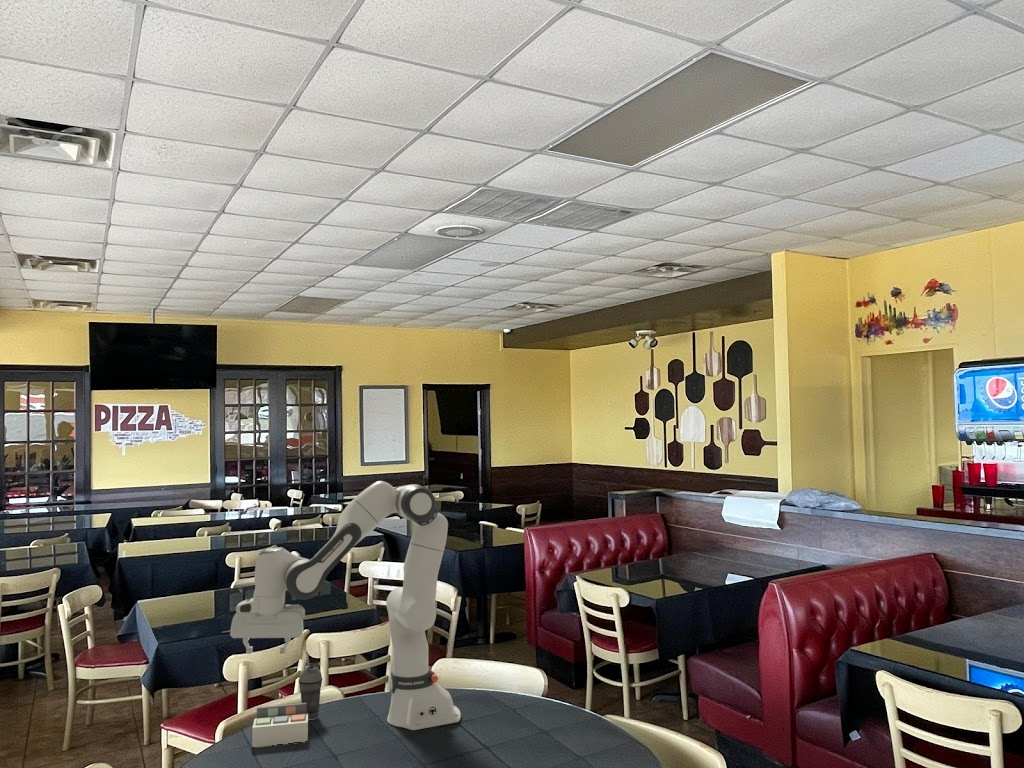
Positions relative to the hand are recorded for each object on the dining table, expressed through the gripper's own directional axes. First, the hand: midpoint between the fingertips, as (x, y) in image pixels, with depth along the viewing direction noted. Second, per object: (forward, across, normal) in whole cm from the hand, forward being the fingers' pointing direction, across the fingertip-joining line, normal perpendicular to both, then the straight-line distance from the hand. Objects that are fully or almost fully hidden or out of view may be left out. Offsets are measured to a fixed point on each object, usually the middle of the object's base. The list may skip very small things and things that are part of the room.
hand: (266, 653), depth 220 cm
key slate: (+20, -5, 0) cm, 21 cm away
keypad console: (+24, -5, -1) cm, 25 cm away
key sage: (+21, 0, 0) cm, 21 cm away
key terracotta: (+20, -10, -1) cm, 23 cm away
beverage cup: (+24, -12, -16) cm, 31 cm away
